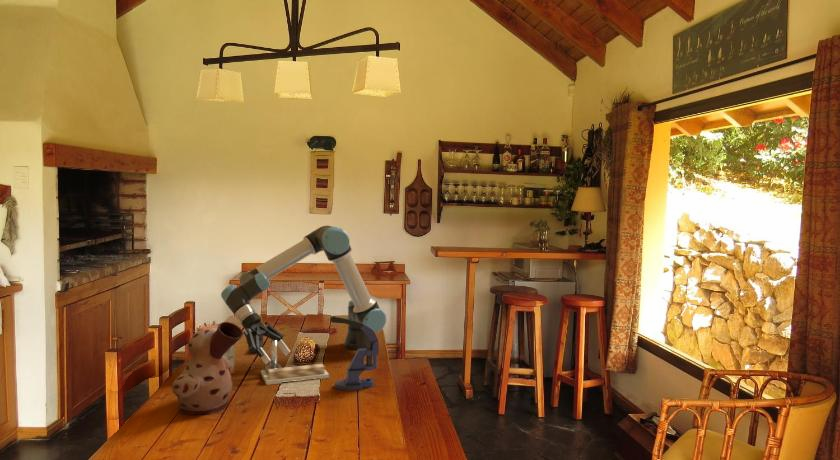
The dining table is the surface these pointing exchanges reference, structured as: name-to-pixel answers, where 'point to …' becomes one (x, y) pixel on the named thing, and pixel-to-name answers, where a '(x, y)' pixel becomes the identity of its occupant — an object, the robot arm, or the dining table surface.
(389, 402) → the dining table surface
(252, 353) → the hand tool
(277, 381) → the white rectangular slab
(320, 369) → the oak board
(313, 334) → the dining table surface
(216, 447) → the dining table surface
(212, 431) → the dining table surface
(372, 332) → the hand press
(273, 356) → the surface gauge
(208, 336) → the vessel
